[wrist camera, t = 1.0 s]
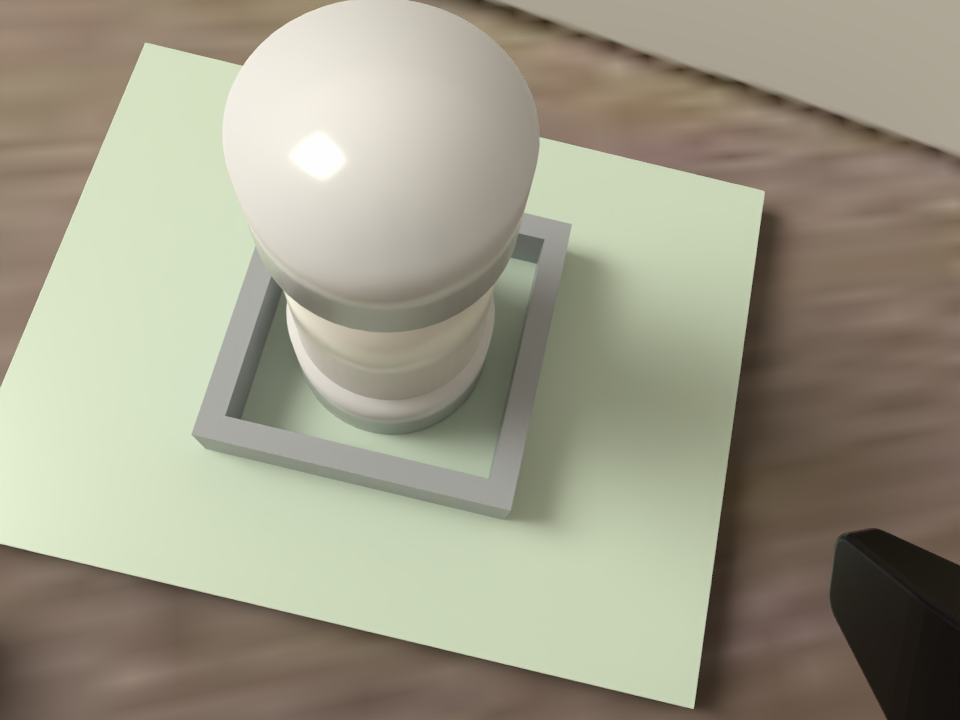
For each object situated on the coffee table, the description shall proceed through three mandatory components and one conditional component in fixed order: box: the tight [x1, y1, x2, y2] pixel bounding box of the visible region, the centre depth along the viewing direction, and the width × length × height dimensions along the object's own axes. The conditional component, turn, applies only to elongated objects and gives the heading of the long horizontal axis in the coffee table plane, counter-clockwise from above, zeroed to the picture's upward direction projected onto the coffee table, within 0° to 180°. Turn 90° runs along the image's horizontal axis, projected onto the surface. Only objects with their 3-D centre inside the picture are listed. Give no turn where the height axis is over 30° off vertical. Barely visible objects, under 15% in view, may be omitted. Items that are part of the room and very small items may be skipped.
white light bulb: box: [222, 0, 540, 435], centre depth 18 cm, size 5×5×10 cm
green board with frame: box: [0, 43, 765, 709], centre depth 23 cm, size 18×14×2 cm
